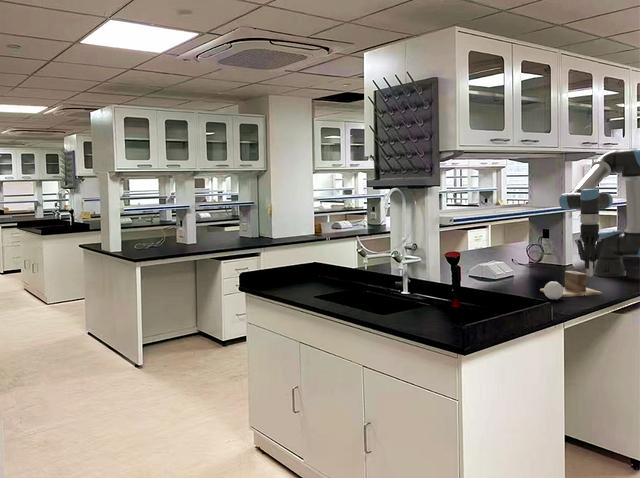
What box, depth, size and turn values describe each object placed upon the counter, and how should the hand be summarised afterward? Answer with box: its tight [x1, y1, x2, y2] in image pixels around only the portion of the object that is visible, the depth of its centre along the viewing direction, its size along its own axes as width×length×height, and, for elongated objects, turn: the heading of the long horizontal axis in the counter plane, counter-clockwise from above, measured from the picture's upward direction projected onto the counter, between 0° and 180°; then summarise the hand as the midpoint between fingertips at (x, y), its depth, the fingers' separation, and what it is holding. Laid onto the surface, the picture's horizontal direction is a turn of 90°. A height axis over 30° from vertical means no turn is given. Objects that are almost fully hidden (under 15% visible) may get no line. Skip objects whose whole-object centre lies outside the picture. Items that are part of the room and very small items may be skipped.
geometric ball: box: [543, 281, 563, 300], centre depth 241 cm, size 8×8×8 cm
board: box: [539, 286, 603, 298], centre depth 254 cm, size 20×16×1 cm
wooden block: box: [564, 270, 587, 292], centre depth 254 cm, size 4×10×8 cm, turn 7°
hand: (589, 275), depth 255 cm, fingers closed
